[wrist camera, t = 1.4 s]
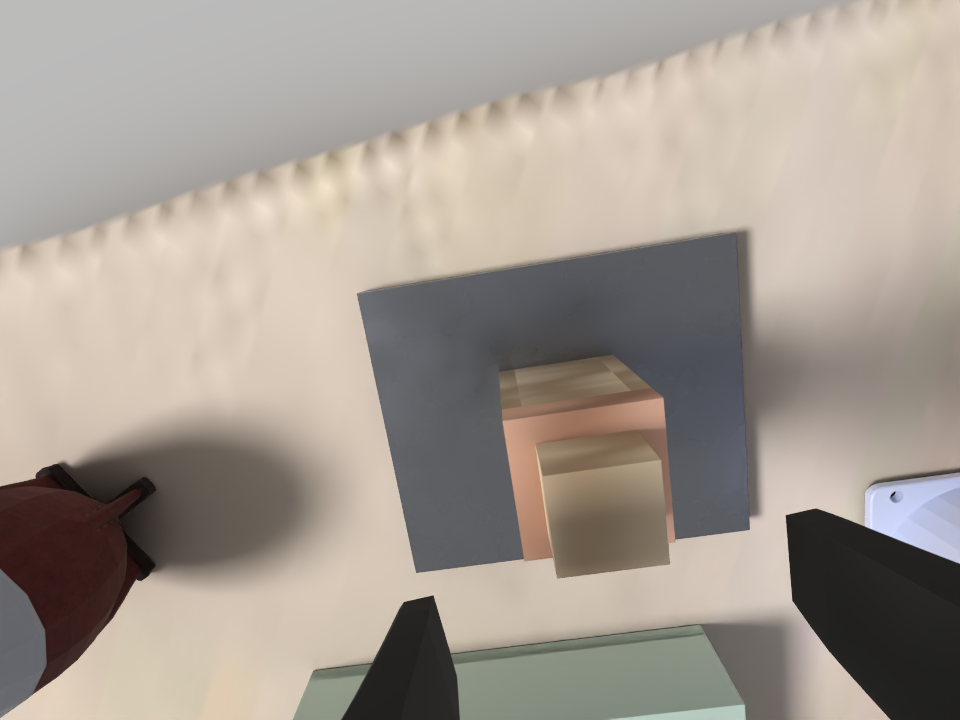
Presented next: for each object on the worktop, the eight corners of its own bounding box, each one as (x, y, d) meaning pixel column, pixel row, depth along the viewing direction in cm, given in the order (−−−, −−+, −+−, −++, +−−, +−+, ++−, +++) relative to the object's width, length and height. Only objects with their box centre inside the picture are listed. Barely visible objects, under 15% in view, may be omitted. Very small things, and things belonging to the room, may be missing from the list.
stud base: (725, 233, 19) (807, 227, 14) (740, 519, 21) (813, 598, 16) (362, 291, 19) (320, 305, 14) (418, 561, 22) (398, 648, 17)
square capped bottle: (612, 354, 19) (692, 423, 11) (623, 460, 20) (704, 588, 12) (498, 371, 19) (504, 449, 12) (515, 476, 20) (529, 609, 13)
